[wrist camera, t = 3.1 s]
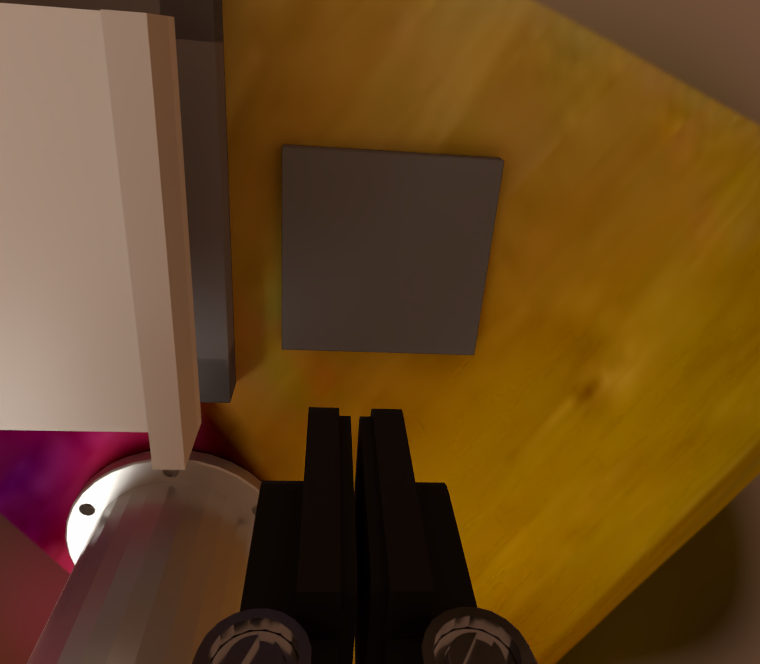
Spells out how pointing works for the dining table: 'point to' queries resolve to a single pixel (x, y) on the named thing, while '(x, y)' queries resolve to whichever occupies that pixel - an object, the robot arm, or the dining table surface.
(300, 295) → the mat
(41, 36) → the sliding lid
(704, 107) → the dining table surface
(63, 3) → the gray box frame
